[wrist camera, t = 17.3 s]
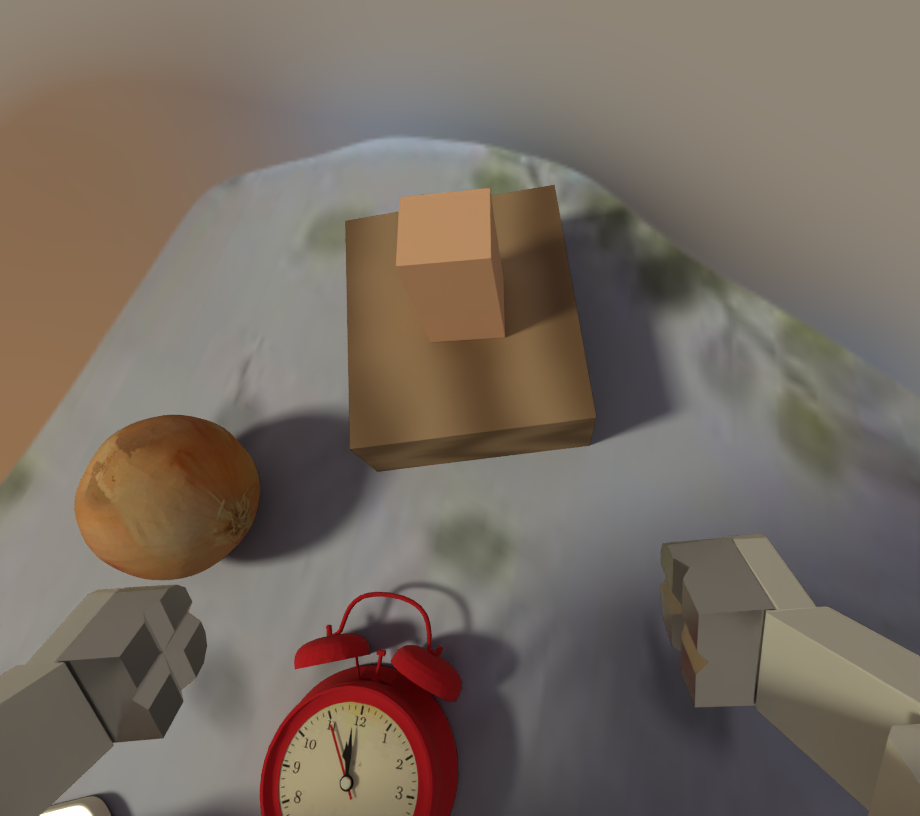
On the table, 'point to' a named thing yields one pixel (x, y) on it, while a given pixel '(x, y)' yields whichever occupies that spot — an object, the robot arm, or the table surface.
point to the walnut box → (467, 351)
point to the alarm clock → (366, 734)
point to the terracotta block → (452, 264)
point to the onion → (167, 497)
